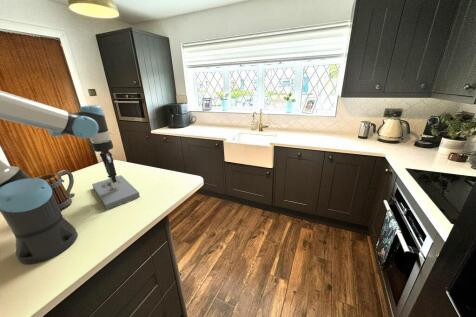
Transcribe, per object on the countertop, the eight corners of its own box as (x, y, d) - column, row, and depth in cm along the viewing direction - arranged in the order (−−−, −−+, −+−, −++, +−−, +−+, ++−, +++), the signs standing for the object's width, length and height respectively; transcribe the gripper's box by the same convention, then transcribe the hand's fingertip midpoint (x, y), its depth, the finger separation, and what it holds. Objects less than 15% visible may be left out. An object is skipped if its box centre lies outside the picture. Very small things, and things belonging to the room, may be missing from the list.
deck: (140, 196, 95) (138, 192, 94) (106, 209, 86) (105, 204, 85) (122, 178, 114) (121, 175, 113) (93, 188, 105) (91, 184, 104)
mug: (55, 215, 83) (40, 184, 78) (35, 213, 85) (20, 182, 80) (87, 195, 98) (77, 168, 92) (70, 194, 100) (59, 167, 94)
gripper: (114, 141, 86) (128, 189, 94) (107, 136, 94) (120, 180, 103) (94, 146, 81) (110, 195, 90) (88, 140, 90) (104, 185, 98)
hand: (115, 187), depth 96 cm, fingers closed
